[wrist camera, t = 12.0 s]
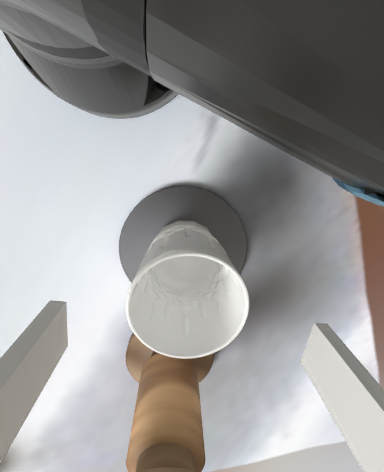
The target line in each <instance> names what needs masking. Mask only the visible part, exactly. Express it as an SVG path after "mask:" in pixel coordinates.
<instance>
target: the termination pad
mask: <svg viewBox="0 0 384 472" xmlns="http://www.w3.org/2000/svg"><path fill="white" fill-rule="evenodd" d="M178 220H179V221H195V222H197V223H199V224H201V225H203V226H205V227H207V228H208V230H209V231H210V232H211V234H212V235H213V236H214V238H216V239H217V240H218V242H219V243H220V245H221V246H222V247H223V249H224V250H225V252H226V254H227V255H228V257H229V258H230V260H231V262H232V263H233V265H234V267H235V268H236V270H237V271H238V273H239V274H240V272H241V270H242V268H243V265H244V262H245V258H246V252H247V240H246V234H245V230H244V227H243V225H242V222H241V220H240V218H239V217H238V215H237V214H236V212H235V211H234V210H233V209H232V207H231V206H230V205H229V204H227V203H226V202H225V201H224V200H223V199H221V198H220V197H219V196H217V195H215V194H213V193H211V192H209V191H207V190H204V189H201V188H196V187H188V186H179V187H171V188H166V189H163V190H160V191H157V192H155V193H153V194H151V195H150V196H148V197H147V198H145V199H144V200H142V201H141V202H140V203H139V204H138V205H137V206H136V207H135V208H134V209H133V211H132V212H131V213H130V214H129V216H128V218H127V219H126V221H125V223H124V225H123V228H122V231H121V235H120V240H119V255H120V260H121V264H122V267H123V269H124V271H125V273H126V275H127V277H128V278H129V280H130V281H131V283H132V282H133V280H134V278H135V275H136V273H137V271H138V269H139V267H140V264H141V262H142V260H143V258H144V256H145V254H146V252H147V250H148V248H149V247H150V245H151V243H152V242H153V239H154V238H155V236H156V235H157V234H158V233H159V232H160V231H161V229H162V228H163V227H164V226H166V225H169V224H171V223H173V222H176V221H178Z"/></svg>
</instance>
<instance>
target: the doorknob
mask: <svg viewBox="0 0 384 472" xmlns="http://www.w3.org/2000/svg"><path fill="white" fill-rule="evenodd" d="M212 364H213V353H212V354H209V355H206V356H203V357H198V358H188V359H184V358H174V357H169V356H165V355H162V354H160V353H157V352H155V351H153V350H152V349H150V348H148V347H147V346H146V345H144V344H143V343H142V342H141V341H140V340H139V339H138V338H137V337H136V335H135V334H134V332H133V334H132V336H131V338H130V341H129V344H128V348H127V352H126V365H127V368H128V370H129V372H130V374H131V375H132V377H133V378H134V379H135V380H136V381H137V382H138V383H139V388H138V394H137V400H136V406H135V412H134V418H133V424H132V430H131V436H130V442H129V448H128V454H127V460H126V466H127V470H128V472H201V471H202V469H203V467H204V465H205V450H204V439H203V428H202V417H201V406H200V395H199V384H198V383H199V382H201V381H202V380H203V379H204V378H205V377H206V375H207V374H208V373H209V371H210V369H211V367H212Z"/></svg>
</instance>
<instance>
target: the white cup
mask: <svg viewBox="0 0 384 472" xmlns="http://www.w3.org/2000/svg"><path fill="white" fill-rule="evenodd" d="M248 313H249V295H248V291H247V288H246V285H245V283H244V281H243V279H242V278H241V276H240V275H239V273H238V271H237V270H236V268H235V267H234V265H233V263H232V262H231V260H230V258H229V257H228V255H227V254H226V252H225V250H224V249H223V247H222V246H221V245H220V243H219V242H218V240H217V239H216V238H214V236H213V235H212V234H211V232H210V231H209V230H208V228H207V227H205V226H203V225H201V224H199V223H197V222H195V221H179V220H178V221H176V222H173V223H171V224H169V225H166V226H164V227H163V228H162V229H161V231H160V232H159V233H158V234H157V235H156V236H155V238H154V239H153V242H152V243H151V245H150V247H149V248H148V250H147V252H146V254H145V256H144V258H143V260H142V262H141V264H140V267H139V269H138V271H137V273H136V275H135V278H134V280H133V282H132V284H131V286H130V288H129V291H128V294H127V298H126V315H127V319H128V323H129V325H130V327H131V329H132V331H133V332H134V334H135V335H136V337H137V338H138V339H139V340H140V341H141V342H142V343H143V344H144V345H146V346H147V347H148V348H150V349H152V350H153V351H155V352H157V353H160V354H162V355H165V356H169V357H174V358H184V359H188V358H198V357H203V356H206V355H209V354H212V353H214V352H217V351H219V350H220V349H222V348H224V347H225V346H227V345H228V344H229V343H230V342H232V341H233V340H234V339H235V338H236V337H237V335H238V334H239V333H240V331H241V330H242V328H243V326H244V325H245V322H246V320H247V317H248Z"/></svg>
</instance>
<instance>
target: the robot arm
mask: <svg viewBox="0 0 384 472" xmlns="http://www.w3.org/2000/svg"><path fill="white" fill-rule="evenodd" d="M0 29H1V30H2V31H3V33H4V35H5V37H6V39H7V40H8V42H9V44H10V45H11V47H12V48H13V50H14V51H15V53H16V54H17V56H18V57H19V59H20V60H21V61H22V63H23V64H24V65H25V67H26V68H27V69H28V70H29V71H30V72H31V74H32V75H33V76H34V77H35V78H36V79H37V80H38V81H39V82H41V83H42V84H43V85H44V86H45V87H46V88H47V89H48V90H50V91H51V92H52V93H54V94H55V95H56V96H58V97H59V98H61V99H62V100H64V101H66V102H68V103H69V104H71V105H73V106H75V107H78V108H80V109H82V110H84V111H86V112H89V113H92V114H94V115H98V116H102V117H107V118H117V119H124V118H134V117H139V116H142V115H146V114H148V113H151V112H153V111H155V110H157V109H159V108H161V107H162V106H164V105H166V104H167V103H168V102H170V101H171V100H172V99H173V98H174V97H175V96H176V95H177V94H178V93H179V94H180V95H182V96H184V97H186V98H188V99H190V100H191V101H193V102H195V103H197V104H199V105H201V106H202V107H204V108H206V109H208V110H210V111H212V112H213V113H215V114H217V115H219V116H221V117H223V118H224V119H226V120H228V121H230V122H232V123H234V124H235V125H237V126H239V127H241V128H243V129H245V130H247V131H248V132H250V133H252V134H254V135H256V136H258V137H259V138H261V139H263V140H265V141H267V142H269V143H270V144H272V145H274V146H276V147H278V148H280V149H281V150H283V151H285V152H287V153H289V154H291V155H292V156H294V157H296V158H298V159H300V160H302V161H303V162H305V163H307V164H309V165H311V166H313V167H314V168H316V169H318V170H320V171H322V172H324V173H325V174H327V175H329V176H331V177H332V178H333V179H334V180H335V182H336V183H337V184H338V185H339V186H340V187H341V188H343V189H345V190H347V191H348V192H350V193H352V194H354V195H355V196H357V197H360V198H362V199H365V200H367V201H369V202H372V203H374V204H377V205H380V206H384V0H0ZM67 346H68V339H67V308H66V302H62V301H50V302H49V303H48V304H47V305H46V306H45V307H44V309H43V310H42V311H41V312H40V313H39V314H38V315H37V317H36V318H35V319H34V320H33V321H32V322H31V324H30V325H29V326H28V327H27V328H26V329H25V331H24V332H23V333H22V334H21V335H20V336H19V338H18V339H17V340H16V341H15V342H14V343H13V345H12V346H11V347H10V348H9V349H8V350H7V351H6V353H5V354H4V355H3V356H2V357H1V358H0V463H1V461H2V460H3V458H4V456H5V454H6V453H7V451H8V449H9V447H10V446H11V444H12V442H13V440H14V439H15V437H16V435H17V434H18V432H19V430H20V428H21V427H22V425H23V423H24V421H25V420H26V418H27V416H28V414H29V413H30V411H31V409H32V407H33V406H34V404H35V402H36V400H37V399H38V397H39V395H40V393H41V392H42V390H43V388H44V386H45V385H46V383H47V381H48V379H49V378H50V376H51V374H52V372H53V371H54V369H55V367H56V365H57V364H58V362H59V360H60V358H61V357H62V355H63V353H64V351H65V350H66V348H67ZM301 364H302V365H303V367H304V369H305V371H306V372H307V374H308V376H309V378H310V379H311V381H312V383H313V385H314V386H315V388H316V390H317V392H318V393H319V395H320V397H321V399H322V400H323V402H324V404H325V406H326V407H327V409H328V411H329V412H330V414H331V416H332V418H333V419H334V421H335V423H336V425H337V426H338V428H339V430H340V432H341V433H342V435H343V437H344V439H345V440H346V442H347V444H348V445H349V447H350V449H351V451H352V453H353V454H354V456H355V458H356V459H357V461H358V463H359V465H360V467H361V468H362V470H363V472H384V390H383V388H382V387H381V386H380V385H379V384H378V383H377V381H376V380H375V379H374V378H373V377H372V376H371V374H370V373H369V372H368V371H367V370H366V369H365V367H364V366H363V365H362V364H361V363H360V361H359V360H358V359H357V358H356V357H355V356H354V354H353V353H352V352H351V351H350V350H349V349H348V347H347V346H346V345H345V344H344V343H343V342H342V340H341V339H340V338H339V337H338V336H337V335H336V333H335V332H334V331H333V330H332V329H331V328H330V326H329V325H328V324H323V323H314V325H313V327H312V330H311V333H310V336H309V339H308V342H307V345H306V347H305V350H304V353H303V356H302V359H301Z"/></svg>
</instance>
